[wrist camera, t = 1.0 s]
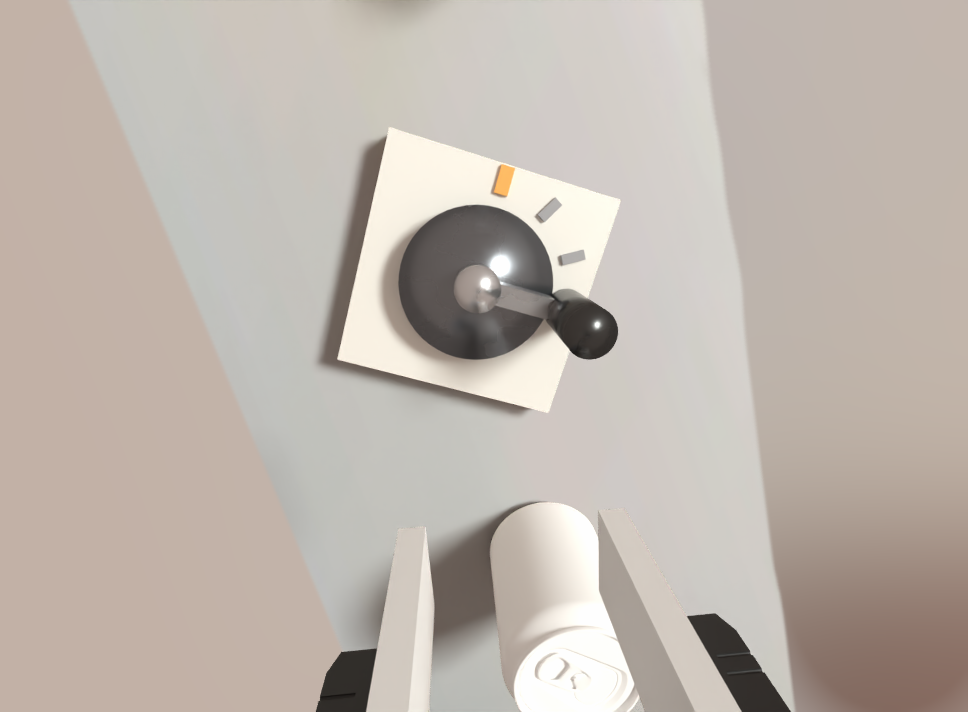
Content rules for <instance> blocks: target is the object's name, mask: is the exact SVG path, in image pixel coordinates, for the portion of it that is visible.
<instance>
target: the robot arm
mask: <svg viewBox="0 0 968 712" xmlns="http://www.w3.org/2000/svg"><path fill="white" fill-rule="evenodd" d="M598 550H599V592H600V595H601V597H602V600H603V603H604V605H605V608H606V611H607V613H608V616H609V618H610V621H611V624H612V626H613V629H614V632H615V634H616V637H617V639H618V642H619V645H620V647H621V650H622V653H623V655H624V658H625V660H626V663H627V666H628V668H629V671H630V673H631V676H632V679H633V681H634V684H635V687H636V689H637V692H638V694H639V697H640V700H641V702H642V705H643V708H644V710H645V712H791V711H790V710H789V708H788V707H787V705H786V704H785V702H784V701H783V699H782V698H781V696H780V695H779V693H778V692H777V690H776V689H775V687H774V686H773V685H772V683H771V682H770V680H769V679H768V677H767V676H766V674H765V673H763V672H762V669H761V667H760V665H759V664H758V662H757V661H756V659H755V658H754V656H753V655H751V654H750V650H749V649H748V647H747V646H746V644H745V643H744V641H743V640H742V638H741V637H740V635H739V634H738V633H737V631H736V630H735V629H734V628H733V627H731V626H730V625H729V624H728V623H726V622H725V621H724V620H723V619H721V618H720V617H719V616H718V615H717V614H705V615H695V616H686V614H685V612H684V611H683V609H682V607H681V605H680V604H679V602H678V600H677V598H676V597H675V595H674V593H673V591H672V590H671V588H670V586H669V585H668V583H667V581H666V579H665V578H664V576H663V574H662V572H661V571H660V569H659V567H658V565H657V564H656V562H655V560H654V558H653V557H652V555H651V553H650V551H649V550H648V548H647V546H646V544H645V543H644V541H643V539H642V538H641V536H640V534H639V532H638V531H637V529H636V527H635V525H634V524H633V522H632V520H631V518H630V517H629V515H628V513H627V511H626V510H625V508H619V509H608V510H598ZM434 607H435V606H434V597H433V588H432V579H431V571H430V562H429V553H428V544H427V535H426V527H425V526H422V527H412V528H401V529H398V534H397V540H396V545H395V551H394V557H393V562H392V568H391V574H390V579H389V585H388V591H387V596H386V602H385V607H384V613H383V619H382V624H381V630H380V636H379V641H378V647H377V649H369V650H358V651H348V652H341V653H340V655H339V656H338V658H337V659H336V661H335V662H334V663H333V665H332V666H331V668H330V669H329V670H328V672H327V673H326V677H325V680H324V684H323V688H322V691H321V695H320V701H319V702H318V706H317V710H316V712H429V707H430V687H431V667H432V647H433V627H434Z"/></svg>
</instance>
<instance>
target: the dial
mask: <svg viewBox="0 0 968 712" xmlns="http://www.w3.org/2000/svg"><path fill="white" fill-rule="evenodd" d="M398 286H399V295H400V300H401V304H402V307H403V310H404V313H405V315H406V317H407V319H408V321H409V322H410V324H411V325H412V327H413V328H414V330H415V331H416V332H417V333H418V334H419V335H420V337H421V338H422V339H424V340H425V341H426V342H427V343H428V344H429V345H431V346H433V347H434V348H436V349H437V350H439V351H441V352H443V353H445V354H448V355H451V356H454V357H457V358H462V359H471V360H480V359H489V358H494V357H497V356H500V355H504V354H506V353H508V352H510V351H512V350H514V349H516V348H517V347H519V346H520V345H522V344H523V343H524V342H525V341H527V340H528V339H529V338H530V337H531V336H532V335H533V334H534V333H535V331H536V330H537V329H538V327H539V326H540V325H541V323H542V321H543V319H545V320H546V322H547V323H548V325H549V326H550V327H551V328H552V329H553V331H554V332H555V333H556V334H557V335H558V337H559V338H560V339H561V340H562V341H563V343H564V344H565V345H566V346H567V347H568V349H569V350H570V351H571V352H572V353H573V354H574V355H576V356H577V357H580V358H582V359H596V358H600V357H602V356H604V355H605V354H607V353H608V352H609V351H610V350H611V349H612V347H613V346H614V344H615V342H616V340H617V336H618V327H617V323H616V320H615V319H614V317H613V316H612V315H611V314H610V313H609V312H608V311H606V310H605V309H603V308H602V307H600V306H599V305H597V304H596V303H594V302H593V301H591V300H590V299H588V298H586V297H585V296H583V295H582V294H580V293H579V292H577V291H575V290H573V289H560V290H558V291H555V292H554V293H552V292H553V272H552V266H551V262H550V258H549V255H548V253H547V251H546V248H545V246H544V245H543V243H542V241H541V239H540V238H539V237H538V235H537V234H536V233H535V232H534V230H533V229H532V228H531V227H530V226H529V225H528V224H527V223H525V222H524V221H523V220H521V219H520V218H519V217H517V216H515V215H514V214H512V213H510V212H508V211H505V210H503V209H500V208H497V207H492V206H488V205H465V206H460V207H455V208H452V209H449V210H446V211H444V212H442V213H440V214H438V215H437V216H435V217H434V218H432V219H431V220H429V221H428V222H427V223H426V224H424V225H423V226H422V227H421V228H420V229H419V230H418V232H417V233H416V234H415V235H414V236H413V238H412V239H411V241H410V243H409V244H408V246H407V248H406V250H405V252H404V255H403V258H402V261H401V264H400V270H399V281H398Z"/></svg>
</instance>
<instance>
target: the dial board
mask: <svg viewBox="0 0 968 712" xmlns="http://www.w3.org/2000/svg"><path fill="white" fill-rule="evenodd" d="M620 202H621V200H619V199H616V198H613V197H610V196H606V195H603V194H600V193H597V192H594V191H591V190H587V189H584V188H581V187H578V186H575V185H572V184H568V183H565V182H562V181H559V180H556V179H553V178H549V177H546V176H543V175H540V174H537V173H534V172H530V171H527V170H524V169H521V168H518V167H514V166H511V165H508V164H505V163H502V162H499V161H495V160H492V159H489V158H486V157H483V156H480V155H476V154H473V153H470V152H467V151H464V150H461V149H457V148H454V147H451V146H448V145H445V144H442V143H438V142H435V141H432V140H429V139H426V138H423V137H419V136H416V135H413V134H410V133H407V132H404V131H400V130H397V129H394V128H391V127H389V130H388V134H387V139H386V143H385V148H384V152H383V157H382V161H381V166H380V170H379V175H378V179H377V184H376V188H375V193H374V197H373V202H372V206H371V211H370V215H369V220H368V224H367V229H366V233H365V237H364V242H363V246H362V251H361V255H360V260H359V264H358V269H357V273H356V278H355V282H354V287H353V291H352V296H351V300H350V305H349V309H348V314H347V318H346V323H345V327H344V332H343V336H342V341H341V345H340V350H339V354H338V359H337V360H341V361H345V362H349V363H353V364H357V365H361V366H365V367H369V368H373V369H377V370H381V371H385V372H389V373H393V374H397V375H400V376H404V377H408V378H412V379H416V380H420V381H424V382H428V383H432V384H436V385H440V386H444V387H448V388H452V389H456V390H460V391H464V392H468V393H472V394H476V395H479V396H483V397H487V398H491V399H495V400H499V401H503V402H507V403H511V404H515V405H519V406H523V407H527V408H531V409H535V410H539V411H543V412H547V413H548V412H549V409H550V407H551V404H552V401H553V398H554V395H555V392H556V389H557V386H558V383H559V380H560V377H561V374H562V372H563V369H564V366H565V363H566V360H567V357H568V354H569V351H570V350H569V349H568V347H567V346H566V345H565V344H564V343H563V341H562V340H561V339H560V338H559V337H558V335H557V334H556V333H555V332H554V331H553V329H552V328H551V327H550V326H549V325H548V323H547V322H546V320H545V319H543V321H542V323H541V325H540V326H539V327H538V329H537V330H536V331H535V333H534V334H533V335H532V336H531V337H530V338H529V339H528V340H527V341H525V342H524V343H523V344H522V345H520V346H519V347H517V348H516V349H514V350H512V351H510V352H508V353H506V354H504V355H500V356H497V357H494V358H489V359H480V360H471V359H462V358H457V357H454V356H451V355H448V354H445V353H443V352H441V351H439V350H437V349H436V348H434V347H433V346H431V345H429V344H428V343H427V342H426V341H425V340H424V339H422V338H421V337H420V335H419V334H418V333H417V332H416V331H415V330H414V328H413V327H412V325H411V324H410V322H409V321H408V319H407V317H406V315H405V313H404V310H403V307H402V304H401V300H400V295H399V286H398V281H399V270H400V264H401V261H402V258H403V255H404V252H405V250H406V248H407V246H408V244H409V243H410V241H411V239H412V238H413V236H414V235H415V234H416V233H417V232H418V230H419V229H420V228H421V227H422V226H423V225H424V224H426V223H427V222H428V221H429V220H431V219H432V218H434V217H435V216H437V215H438V214H440V213H442V212H444V211H446V210H449V209H452V208H455V207H460V206H465V205H488V206H492V207H497V208H500V209H503V210H505V211H508V212H510V213H512V214H514V215H515V216H517V217H519V218H520V219H521V220H523V221H524V222H525V223H527V224H528V225H529V226H530V227H531V228H532V229H533V230H534V232H535V233H536V234H537V235H538V237H539V238H540V239H541V241H542V243H543V245H544V246H545V248H546V251H547V253H548V255H549V258H550V262H551V266H552V272H553V292H552V293H554V292H555V291H558V290H560V289H573V290H575V291H577V292H579V293H580V294H582V295H583V296H585V297H586V298H588V296H589V293H590V290H591V287H592V284H593V281H594V278H595V275H596V272H597V269H598V266H599V264H600V261H601V258H602V255H603V252H604V249H605V246H606V243H607V240H608V237H609V234H610V231H611V228H612V226H613V223H614V220H615V217H616V214H617V211H618V208H619V205H620Z"/></svg>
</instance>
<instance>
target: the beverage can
mask: <svg viewBox="0 0 968 712" xmlns="http://www.w3.org/2000/svg"><path fill="white" fill-rule="evenodd" d="M490 560H491V570H492V580H493V589H494V599H495V608H496V618H497V628H498V637H499V647H500V657H501V666H502V674H503V678H504V681H505V684H506V686H507V688H508V690H509V692H510V694H511V695H512V697H513V698H514V699H515V701H516V704H517V706H518V708H519V710H520V711H521V712H629V711H630V710H631V709H632V708H633V707H634V705H635V704H636V703H637V701H638V699H639V694H638V692H637V689H636V687H635V684H634V681H633V679H632V676H631V673H630V671H629V668H628V666H627V663H626V660H625V658H624V655H623V653H622V650H621V647H620V645H619V642H618V639H617V637H616V634H615V632H614V629H613V626H612V624H611V621H610V618H609V616H608V613H607V611H606V608H605V605H604V603H603V600H602V597H601V595H600V592H599V550H598V537H597V535H596V533H595V530H594V528H593V526H592V525H591V523H590V522H589V520H588V519H587V518H586V517H585V516H584V515H583V514H582V513H580V512H579V511H577V510H576V509H574V508H572V507H570V506H567V505H564V504H560V503H554V502H541V503H535V504H531V505H527V506H525V507H522V508H520V509H518V510H516V511H515V512H513V513H512V514H510V515H509V516H508V517H507V518H506V519H504V521H503V522H502V523H501V524H500V525H499V527H498V528H497V530H496V531H495V533H494V536H493V538H492V541H491V546H490Z"/></svg>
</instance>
